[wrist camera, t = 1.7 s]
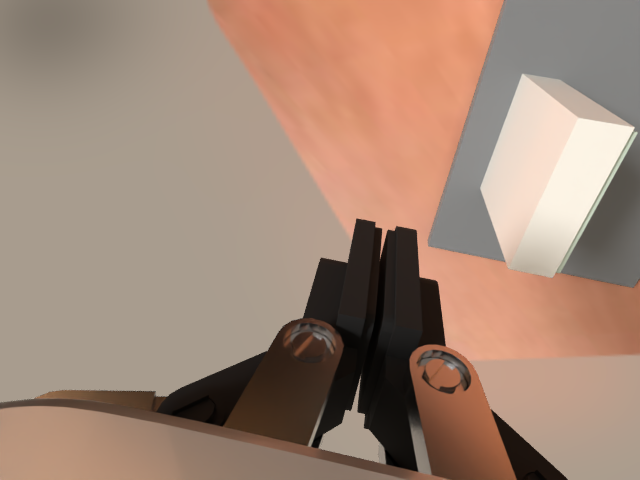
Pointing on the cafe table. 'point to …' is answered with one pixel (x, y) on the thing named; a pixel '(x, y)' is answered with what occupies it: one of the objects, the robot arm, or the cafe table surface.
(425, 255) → the cafe table surface
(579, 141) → the tile
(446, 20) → the cafe table surface
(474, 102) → the mat
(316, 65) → the cafe table surface
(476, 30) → the cafe table surface
